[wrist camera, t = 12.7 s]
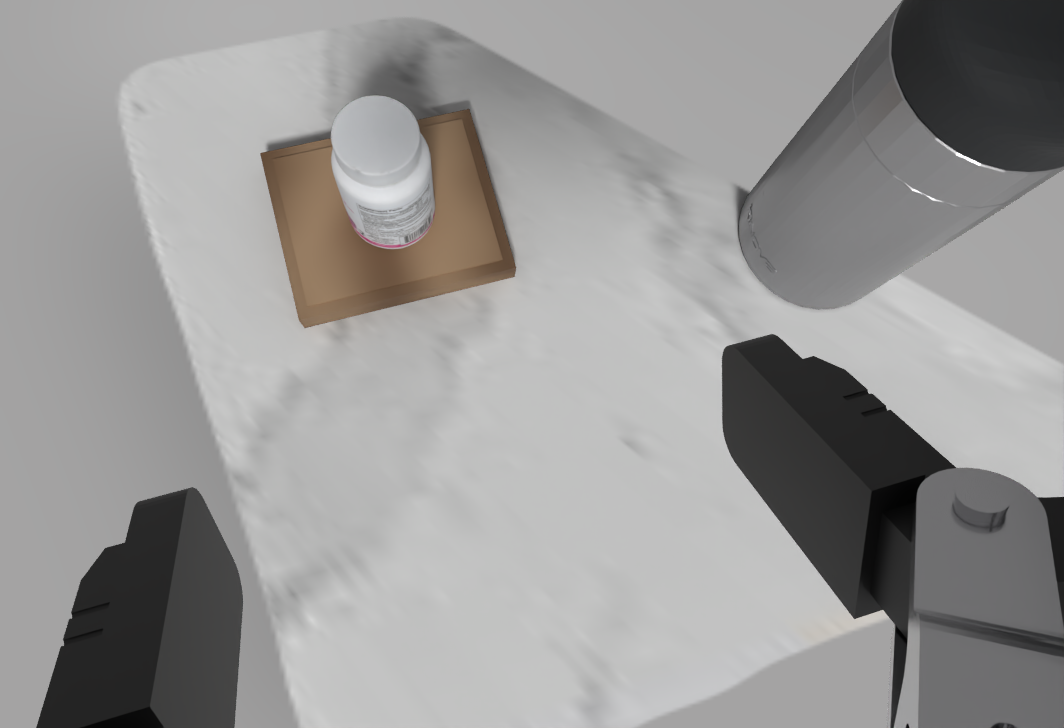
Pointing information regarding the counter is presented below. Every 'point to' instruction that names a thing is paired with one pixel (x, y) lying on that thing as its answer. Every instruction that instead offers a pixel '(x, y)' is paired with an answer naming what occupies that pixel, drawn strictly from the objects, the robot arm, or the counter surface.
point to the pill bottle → (383, 171)
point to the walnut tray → (377, 273)
